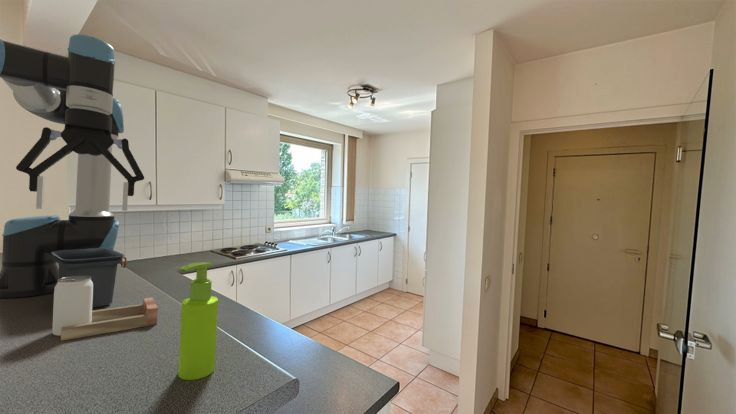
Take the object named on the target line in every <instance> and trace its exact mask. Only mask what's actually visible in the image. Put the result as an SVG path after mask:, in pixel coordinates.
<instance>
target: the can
mask: <svg viewBox="0 0 736 414" xmlns="http://www.w3.org/2000/svg"><path fill="white" fill-rule="evenodd" d="M57 281H58V283H57V284H56V286H55V288H54V292H53V305H52V307H53V308H52V314H53V315H52V327H51V329H52V335H54V336H55V337H61V328H62V327H67V326H73V325H80V324H86V323H93V322H92V311H93V308H92V303H93V282H92V281H91V277H90V276H71V277H65V278H61V279H58V280H57Z"/></svg>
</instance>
